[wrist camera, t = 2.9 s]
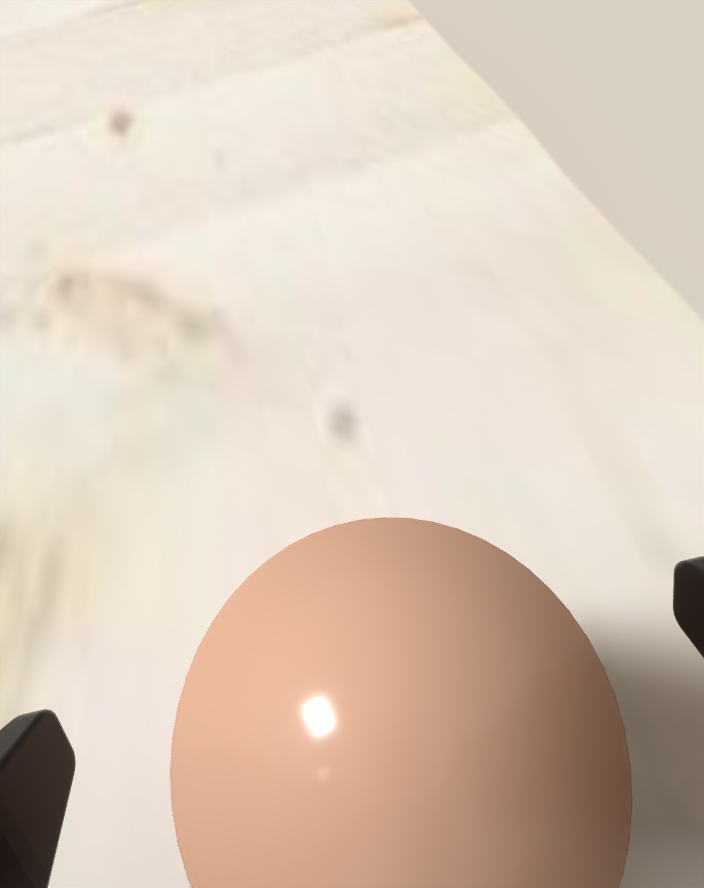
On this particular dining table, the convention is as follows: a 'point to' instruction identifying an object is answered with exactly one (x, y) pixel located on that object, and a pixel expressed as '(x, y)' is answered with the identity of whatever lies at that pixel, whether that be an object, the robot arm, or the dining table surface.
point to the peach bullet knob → (398, 724)
